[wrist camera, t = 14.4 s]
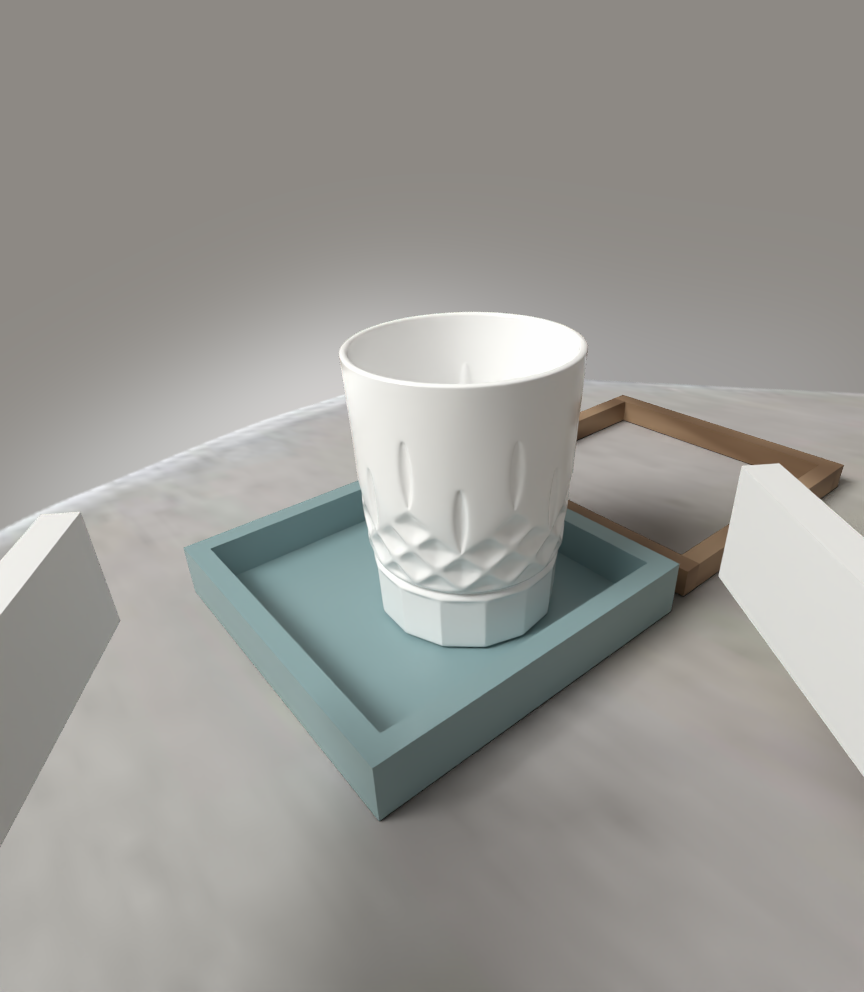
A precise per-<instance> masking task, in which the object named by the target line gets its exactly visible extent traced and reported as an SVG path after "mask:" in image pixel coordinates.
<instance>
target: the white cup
mask: <svg viewBox="0 0 864 992" xmlns="http://www.w3.org/2000/svg"><path fill="white" fill-rule="evenodd" d="M587 353H588V344H587V341H586V340H585V338H583V336H582V335H581V334H579V333H578V332H577V331H575V330H573V329H571V328H569V327H567V326H565V325H562V324H560V323H556V322H553V321H550V320H546V319H541V318H537V317H531V316H525V315H518V314H509V313H495V312H455V313H454V312H452V313H438V314H428V315H421V316H414V317H408V318H402V319H397V320H393V321H389V322H385V323H382V324H378V325H375V326H372V327H369V328H367V329H365V330H362V331H360V332H358V333H356V334H355V335H353V336H351V337H350V338H349V339H347V340H346V341H345V342H344V343H343V344H342V346H341V348H340V350H339V359H340V365H341V371H342V377H343V383H344V390H345V397H346V404H347V409H348V415H349V421H350V428H351V434H352V441H353V447H354V454H355V461H356V470H357V476H358V481H359V485H360V488H361V492H362V502H363V510H364V515H365V519H366V523H367V527H368V535H369V542H370V544H371V546H372V548H373V550H374V555H375V560H376V563H377V567H378V573H379V580H380V587H381V594H382V601H383V607H384V611H385V612H386V613H387V614H388V615H389V616H390V617H391V618H392V619H393V620H394V621H395V622H396V623H397V624H398V625H399V626H400V627H401V628H402V629H403V630H404V631H405V632H406V633H408V634H410V635H413V636H416V637H418V638H421V639H424V640H427V641H429V642H432V643H435V644H438V645H441V646H453V647H487V646H490V645H493V644H496V643H500V642H503V641H506V640H509V639H512V638H515V637H518V636H521V635H523V634H525V633H526V632H527V631H528V630H529V629H530V628H531V627H532V626H534V625H535V624H536V623H537V622H538V621H539V620H540V619H542V618H543V617H544V616H545V615H546V614H547V612H548V608H549V603H550V599H551V595H552V590H553V585H554V577H555V568H556V559H557V553H558V549H559V547H560V545H561V543H562V538H563V531H564V519H565V515H566V511H567V506H568V497H569V485H570V481H571V477H572V473H573V466H574V457H575V449H576V440H577V432H578V424H579V416H580V408H581V400H582V392H583V384H584V376H585V368H586V360H587Z"/></svg>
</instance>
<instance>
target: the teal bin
mask: <svg viewBox="0 0 864 992" xmlns="http://www.w3.org/2000/svg"><path fill="white" fill-rule="evenodd" d="M184 551H185V555H186V559H187V562H188V566H189V570H190V573H191V577H192V580H193V584H194V588H195V591H196V593H197V594H198V595H199V596H200V598H201V599H202V600H203V601H204V603H205V604H206V605H207V606H208V608H209V609H210V610H211V611H212V613H213V614H214V615H215V616H216V618H217V619H218V620H219V621H220V623H221V624H222V625H223V626H224V628H225V629H226V630H227V631H228V633H229V634H230V635H231V636H232V638H233V639H234V640H235V641H236V643H237V644H238V645H239V646H240V648H241V649H242V650H243V651H244V653H245V654H246V655H247V656H248V658H249V659H250V660H251V661H252V663H253V664H254V665H255V666H256V668H257V669H258V670H259V671H260V673H261V674H262V675H263V676H264V678H265V679H266V680H267V681H268V683H269V684H270V685H271V687H272V688H273V689H274V690H275V692H276V693H277V694H278V695H279V697H280V698H281V699H282V700H283V702H284V703H285V704H286V705H287V707H288V708H289V709H290V710H291V712H292V713H293V714H294V715H295V717H296V718H297V719H298V720H299V722H300V723H301V724H302V725H303V727H304V728H305V729H306V730H307V732H308V733H309V734H310V735H311V737H312V738H313V739H314V740H315V742H316V743H317V744H318V745H319V747H320V748H321V749H322V750H323V752H324V753H325V754H326V755H327V757H328V758H329V759H330V760H331V762H332V763H333V764H334V765H335V767H336V768H337V769H338V770H339V772H340V773H341V774H342V775H343V777H344V778H345V779H346V780H347V782H348V783H349V784H350V785H351V787H352V788H353V789H354V790H355V792H356V793H357V794H358V795H359V797H360V798H361V799H362V800H363V802H364V803H365V804H366V805H367V807H368V808H369V809H370V810H371V812H372V813H373V814H374V815H375V817H376V818H377V819H378V820H379V821H380V820H382V819H383V818H384V817H386V816H387V815H388V814H390V813H391V812H393V811H394V810H395V809H397V808H398V807H400V806H401V805H402V804H404V803H405V802H407V801H408V800H409V799H411V798H412V797H413V796H415V795H416V794H418V793H419V792H420V791H422V790H423V789H425V788H426V787H427V786H429V785H430V784H431V783H433V782H434V781H436V780H437V779H438V778H440V777H441V776H443V775H444V774H445V773H447V772H448V771H450V770H451V769H452V768H454V767H455V766H456V765H458V764H459V763H461V762H462V761H463V760H465V759H466V758H468V757H469V756H470V755H472V754H473V753H474V752H476V751H477V750H479V749H480V748H481V747H483V746H484V745H486V744H487V743H488V742H490V741H491V740H493V739H494V738H495V737H497V736H498V735H499V734H501V733H502V732H504V731H505V730H506V729H508V728H509V727H511V726H512V725H513V724H515V723H516V722H518V721H519V720H520V719H522V718H523V717H524V716H526V715H527V714H529V713H530V712H531V711H533V710H534V709H536V708H537V707H538V706H540V705H541V704H542V703H544V702H545V701H547V700H548V699H549V698H551V697H552V696H554V695H555V694H556V693H558V692H559V691H561V690H562V689H563V688H565V687H566V686H567V685H569V684H570V683H572V682H573V681H574V680H576V679H577V678H579V677H580V676H581V675H583V674H584V673H586V672H587V671H588V670H590V669H591V668H592V667H594V666H595V665H597V664H598V663H599V662H601V661H602V660H604V659H605V658H606V657H608V656H609V655H610V654H612V653H613V652H615V651H616V650H617V649H619V648H620V647H622V646H623V645H624V644H626V643H627V642H629V641H630V640H631V639H633V638H634V637H635V636H637V635H638V634H640V633H641V632H642V631H644V630H645V629H647V628H648V627H649V626H651V625H652V624H653V623H655V622H656V621H658V620H659V619H660V618H662V617H663V616H665V615H666V614H667V613H669V612H670V611H671V609H672V603H673V598H674V592H675V587H676V581H677V575H678V570H679V563H677V562H675V561H673V560H671V559H669V558H667V557H664V556H662V555H660V554H658V553H656V552H654V551H652V550H650V549H648V548H646V547H644V546H642V545H640V544H638V543H636V542H634V541H632V540H630V539H628V538H626V537H624V536H622V535H620V534H618V533H616V532H614V531H612V530H610V529H608V528H606V527H604V526H602V525H600V524H598V523H596V522H594V521H592V520H590V519H588V518H586V517H584V516H582V515H580V514H578V513H576V512H574V511H572V510H570V509H568V508H567V511H566V515H565V519H564V531H563V538H562V543H561V545H560V547H559V549H558V553H557V559H556V568H555V577H554V585H553V590H552V595H551V599H550V603H549V608H548V612H547V614H546V615H545V616H544V617H543V618H542V619H540V620H539V621H538V622H537V623H536V624H535V625H534V626H532V627H531V628H530V629H529V630H528V631H527V632H526V633H525V634H523V635H521V636H518V637H515V638H512V639H509V640H506V641H503V642H500V643H496V644H493V645H490V646H487V647H453V646H441V645H438V644H435V643H432V642H429V641H427V640H424V639H421V638H418V637H416V636H413V635H410V634H408V633H406V632H405V631H404V630H403V629H402V628H401V627H400V626H399V625H398V624H397V623H396V622H395V621H394V620H393V619H392V618H391V617H390V616H389V615H388V614H387V613H386V612H385V611H384V607H383V601H382V594H381V587H380V580H379V573H378V567H377V563H376V560H375V555H374V550H373V548H372V546H371V544H370V542H369V535H368V527H367V523H366V519H365V515H364V510H363V502H362V492H361V488H360V485H359V481H356V482H353V483H351V484H348V485H345V486H343V487H340V488H338V489H335V490H332V491H330V492H327V493H325V494H322V495H319V496H317V497H314V498H312V499H309V500H306V501H304V502H301V503H299V504H296V505H293V506H291V507H288V508H286V509H283V510H280V511H278V512H275V513H273V514H270V515H268V516H265V517H262V518H260V519H257V520H255V521H252V522H249V523H247V524H244V525H242V526H239V527H236V528H234V529H231V530H229V531H226V532H223V533H221V534H218V535H216V536H213V537H210V538H208V539H205V540H203V541H200V542H197V543H195V544H192V545H190V546H187V547H184Z"/></svg>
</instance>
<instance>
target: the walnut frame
mask: <svg viewBox="0 0 864 992" xmlns="http://www.w3.org/2000/svg"><path fill="white" fill-rule="evenodd" d="M622 420H625V421H628V422H631V423H634V424H637V425H640V426H643V427H645V428H648V429H651V430H654V431H657V432H660V433H663V434H666V435H668V436H671V437H674V438H677V439H680V440H683V441H686V442H688V443H691V444H694V445H697V446H700V447H703V448H706V449H709V450H711V451H714V452H717V453H720V454H723V455H726V456H729V457H732V458H734V459H737V460H740V461H743V462H746V463H749V464H752V465H762V464H776V463H779V464H781V465H782V466H783V467H784V468H785V469H786V470H787V471H789V472H790V473H791V474H792V475H793V476H794V477H795V478H797V479H798V480H799V481H800V482H801V483H802V484H803V485H805V486H806V487H807V488H808V489H809V490H810V491H811V492H813V493H814V494H815V495H816V496H817V497H818V498H819V499H821V498H822V497H823V496H825V495H826V494H828V493H829V492H830V491H832V490H833V489H835V488H836V487H837V486H838V483H839V480H840V476H841V473H842V470H843V466H844V465H842V464H839V463H836V462H833V461H829V460H826V459H823V458H820V457H817V456H814V455H810V454H807V453H804V452H801V451H798V450H795V449H792V448H788V447H785V446H782V445H779V444H776V443H773V442H769V441H766V440H763V439H760V438H757V437H754V436H751V435H747V434H744V433H741V432H738V431H735V430H732V429H728V428H725V427H722V426H719V425H716V424H713V423H710V422H706V421H703V420H700V419H697V418H694V417H691V416H688V415H684V414H681V413H678V412H675V411H672V410H669V409H665V408H662V407H659V406H656V405H653V404H650V403H647V402H643V401H640V400H637V399H634V398H631V397H628V396H624V395H622V396H619V397H617V398H614V399H612V400H609V401H607V402H604V403H602V404H599V405H597V406H594V407H592V408H590V409H587V410H585V411H582V412H580V416H579V424H578V432H577V440H578V439H581V438H583V437H585V436H587V435H590V434H592V433H594V432H597V431H599V430H601V429H603V428H606V427H608V426H610V425H613V424H615V423H617V422H619V421H622ZM567 508H568V509H570V510H572V511H574V512H576V513H578V514H580V515H582V516H584V517H586V518H588V519H590V520H592V521H594V522H596V523H598V524H600V525H602V526H604V527H606V528H608V529H610V530H612V531H614V532H616V533H618V534H620V535H622V536H624V537H626V538H628V539H630V540H632V541H634V542H636V543H638V544H640V545H642V546H644V547H646V548H648V549H650V550H652V551H654V552H656V553H658V554H660V555H662V556H664V557H667V558H669V559H671V560H673V561H675V562H677V563H679V570H678V575H677V581H676V587H675V592H676V593H678V594H680V595H682V596H685V595H686V594H687V593H689V592H690V591H692V590H693V589H694V588H696V587H697V586H699V585H700V584H701V583H703V582H704V581H706V580H707V579H708V578H710V577H711V576H713V575H714V574H715V573H717V572H718V571H720V567H721V562H722V557H723V553H724V548H725V543H726V538H727V534H728V529H729V524H728V525H727V526H725V527H724V528H722V529H720V530H719V531H717V532H716V533H714V534H713V535H711V536H710V537H708V538H707V539H705V540H704V541H702V542H701V543H699V544H698V545H696V546H695V547H693V548H691V549H690V550H688V551H687V552H685V553H684V554H682V555H681V554H679V553H677V552H675V551H673V550H671V549H668V548H666V547H664V546H662V545H660V544H658V543H656V542H654V541H652V540H650V539H648V538H646V537H644V536H642V535H640V534H638V533H636V532H633V531H631V530H629V529H627V528H625V527H623V526H621V525H619V524H617V523H615V522H613V521H611V520H609V519H607V518H605V517H603V516H600V515H598V514H596V513H594V512H592V511H590V510H588V509H586V508H584V507H582V506H580V505H578V504H576V503H574V502H572V501H570V500H568V506H567Z"/></svg>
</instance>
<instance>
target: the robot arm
mask: <svg viewBox="0 0 864 992" xmlns="http://www.w3.org/2000/svg"><path fill="white" fill-rule="evenodd" d="M719 578H720V579H721V581H722V582H723V583H724V585H725V586H726V587H727V589H728V590H729V592H730V593H731V594H732V596H733V597H734V598H735V600H736V601H737V603H738V604H739V605H740V607H741V608H742V610H743V611H744V612H745V614H746V615H747V616H748V618H749V619H750V621H751V622H752V623H753V625H754V626H755V627H756V629H757V630H758V632H759V633H760V634H761V636H762V637H763V638H764V640H765V641H766V643H767V644H768V645H769V647H770V648H771V650H772V651H773V652H774V654H775V655H776V656H777V658H778V659H779V661H780V662H781V663H782V665H783V666H784V667H785V669H786V670H787V672H788V673H789V674H790V676H791V677H792V678H793V680H794V681H795V683H796V684H797V685H798V687H799V688H800V690H801V691H802V692H803V694H804V695H805V696H806V698H807V699H808V701H809V702H810V703H811V705H812V706H813V707H814V709H815V710H816V712H817V713H818V714H819V716H820V717H821V718H822V720H823V721H824V723H825V724H826V725H827V727H828V728H829V729H830V731H831V732H832V734H833V735H834V736H835V738H836V739H837V741H838V742H839V743H840V745H841V746H842V747H843V749H844V750H845V752H846V753H847V754H848V756H849V757H850V758H851V760H852V761H853V763H854V764H855V765H856V767H857V768H858V769H859V771H860V772H861V774H862V775H863V776H864V537H863V536H861V535H860V534H859V533H858V532H857V531H856V530H855V529H854V528H852V527H851V526H850V525H849V524H848V523H847V522H846V521H844V520H843V519H842V518H841V517H840V516H839V515H838V514H836V513H835V512H834V511H833V510H832V509H831V508H830V507H828V506H827V505H826V504H825V503H824V502H823V501H822V500H820V499H819V498H818V497H817V496H816V495H815V494H814V493H813V492H811V491H810V490H809V489H808V488H807V487H806V486H805V485H803V484H802V483H801V482H800V481H799V480H798V479H797V478H795V477H794V476H793V475H792V474H791V473H790V472H789V471H787V470H786V469H785V468H784V467H783V466H782V465H781V464H779V463H776V464H762V465H748V466H742V467H741V472H740V477H739V482H738V486H737V491H736V496H735V501H734V505H733V510H732V515H731V519H730V524H729V529H728V534H727V538H726V543H725V548H724V553H723V557H722V562H721V567H720V571H719ZM119 622H120V619H119V616H118V613H117V610H116V608H115V605H114V602H113V599H112V597H111V594H110V591H109V588H108V586H107V583H106V580H105V578H104V575H103V572H102V569H101V567H100V564H99V561H98V558H97V556H96V553H95V550H94V547H93V545H92V542H91V539H90V536H89V534H88V531H87V528H86V525H85V523H84V520H83V517H82V514H81V512H70V513H56V514H42V515H40V516H39V517H38V518H37V519H36V521H35V522H34V523H33V524H32V525H31V526H30V527H29V529H28V530H27V531H26V532H25V533H24V534H23V535H22V537H21V538H20V539H19V540H18V541H17V542H16V543H15V545H14V546H13V547H12V548H11V549H10V550H9V551H8V553H7V554H6V555H5V556H4V557H3V558H2V560H1V561H0V847H1V845H2V843H3V841H4V839H5V837H6V835H7V833H8V832H9V830H10V828H11V826H12V824H13V822H14V820H15V818H16V816H17V815H18V813H19V811H20V809H21V807H22V805H23V803H24V801H25V800H26V798H27V796H28V794H29V792H30V790H31V788H32V786H33V784H34V783H35V781H36V779H37V777H38V775H39V773H40V771H41V769H42V767H43V766H44V764H45V762H46V760H47V758H48V756H49V754H50V752H51V750H52V749H53V747H54V745H55V743H56V741H57V739H58V737H59V735H60V733H61V732H62V730H63V728H64V726H65V724H66V722H67V720H68V718H69V717H70V715H71V713H72V711H73V709H74V707H75V705H76V703H77V701H78V700H79V698H80V696H81V694H82V692H83V690H84V688H85V686H86V684H87V683H88V681H89V679H90V677H91V675H92V673H93V671H94V669H95V667H96V666H97V664H98V662H99V660H100V658H101V656H102V654H103V652H104V651H105V649H106V647H107V645H108V643H109V641H110V639H111V637H112V635H113V634H114V632H115V630H116V628H117V626H118V624H119Z"/></svg>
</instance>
